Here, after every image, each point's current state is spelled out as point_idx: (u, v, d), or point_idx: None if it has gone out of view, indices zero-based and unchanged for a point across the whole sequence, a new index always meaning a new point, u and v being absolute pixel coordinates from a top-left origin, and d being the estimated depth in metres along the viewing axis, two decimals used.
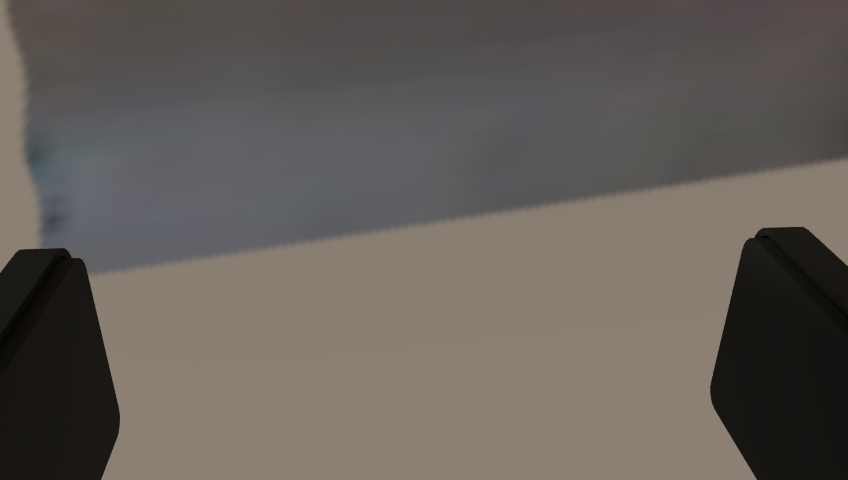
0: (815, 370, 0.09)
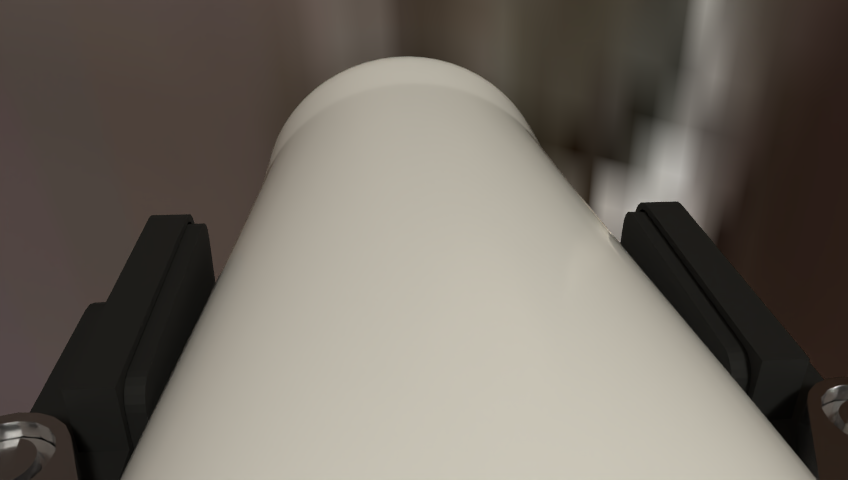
0: None
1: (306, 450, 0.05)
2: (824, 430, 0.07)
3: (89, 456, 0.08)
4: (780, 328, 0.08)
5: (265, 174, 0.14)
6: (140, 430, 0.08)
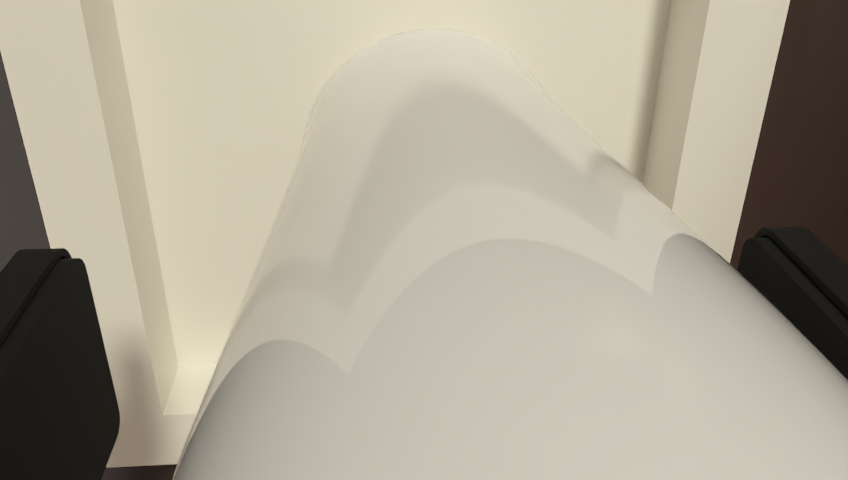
0: None
1: (400, 295, 0.06)
2: None
3: None
4: None
5: (304, 136, 0.15)
6: None
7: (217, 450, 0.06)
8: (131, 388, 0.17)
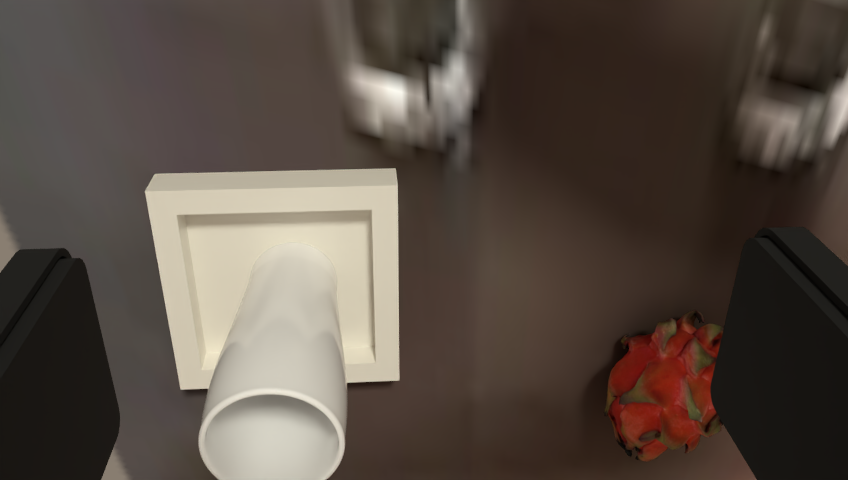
0: (815, 370, 0.09)
1: (250, 337, 0.37)
2: None
3: None
4: None
5: (249, 279, 0.46)
6: None
7: (222, 360, 0.37)
8: (191, 360, 0.49)
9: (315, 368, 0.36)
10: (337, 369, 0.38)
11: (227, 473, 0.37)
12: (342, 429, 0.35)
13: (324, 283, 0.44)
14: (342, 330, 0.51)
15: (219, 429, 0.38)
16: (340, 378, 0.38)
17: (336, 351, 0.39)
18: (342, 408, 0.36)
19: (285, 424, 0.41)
